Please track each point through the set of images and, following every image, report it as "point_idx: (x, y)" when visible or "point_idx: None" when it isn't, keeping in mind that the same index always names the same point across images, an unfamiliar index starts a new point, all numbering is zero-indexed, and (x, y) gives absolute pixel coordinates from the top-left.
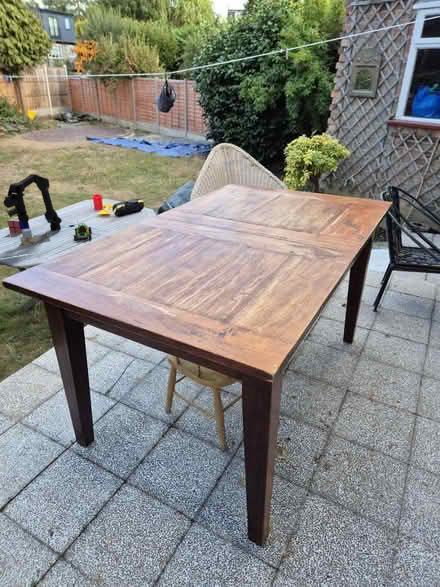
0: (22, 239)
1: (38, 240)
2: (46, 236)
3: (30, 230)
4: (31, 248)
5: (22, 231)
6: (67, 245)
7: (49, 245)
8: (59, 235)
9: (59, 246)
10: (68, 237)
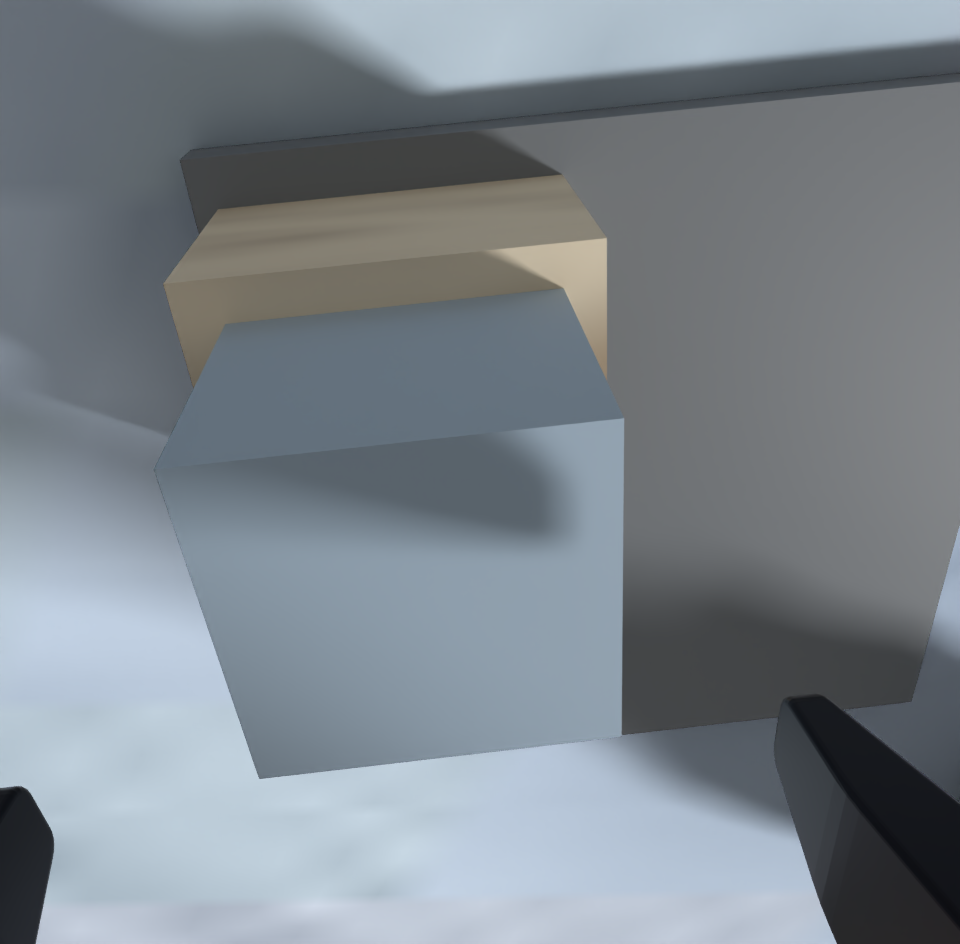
0: (421, 227)
1: None
2: (715, 696)
3: (295, 765)
4: (20, 386)
5: (256, 485)
6: (79, 936)
7: (158, 720)
8: (713, 840)
9: None
10: (517, 938)
